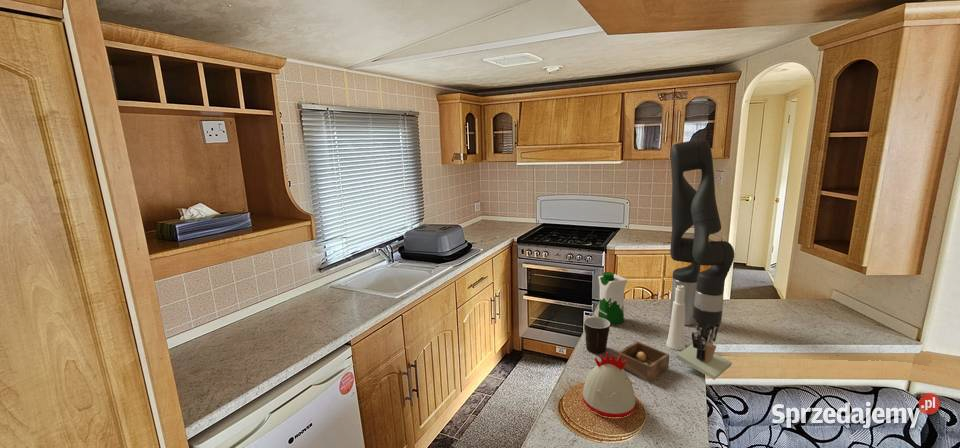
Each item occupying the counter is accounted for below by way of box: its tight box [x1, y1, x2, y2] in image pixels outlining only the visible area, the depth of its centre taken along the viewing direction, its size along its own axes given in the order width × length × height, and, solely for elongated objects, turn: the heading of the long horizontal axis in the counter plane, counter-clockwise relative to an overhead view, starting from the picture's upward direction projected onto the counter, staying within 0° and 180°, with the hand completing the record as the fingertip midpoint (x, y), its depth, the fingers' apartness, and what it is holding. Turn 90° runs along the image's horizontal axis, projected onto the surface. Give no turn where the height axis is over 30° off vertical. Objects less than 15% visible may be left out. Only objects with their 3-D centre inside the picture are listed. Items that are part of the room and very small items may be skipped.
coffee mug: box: [583, 316, 611, 355], centre depth 134 cm, size 12×9×10 cm
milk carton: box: [597, 271, 628, 326], centre depth 155 cm, size 9×9×20 cm
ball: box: [636, 352, 646, 361], centre depth 127 cm, size 3×3×3 cm
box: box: [616, 340, 670, 384], centre depth 124 cm, size 11×11×5 cm
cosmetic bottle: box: [665, 285, 687, 351], centre depth 134 cm, size 6×6×22 cm
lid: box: [675, 343, 733, 381], centre depth 121 cm, size 12×12×6 cm
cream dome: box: [581, 350, 636, 417], centre depth 107 cm, size 14×14×15 cm
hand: (703, 357), depth 122 cm, fingers closed on lid, 3 cm apart
